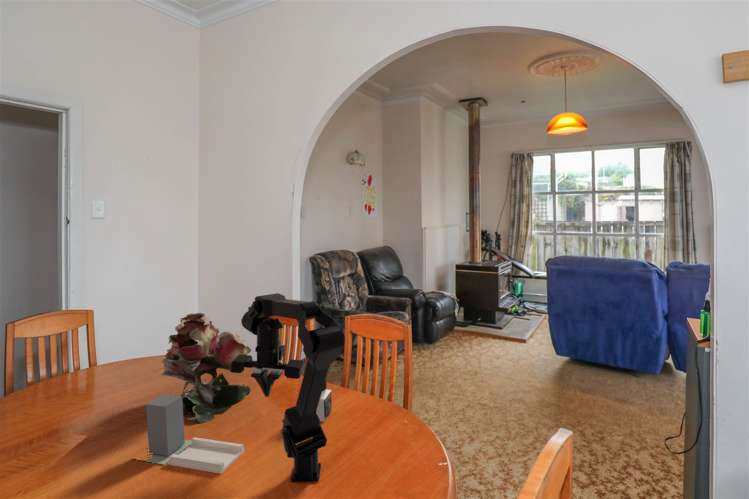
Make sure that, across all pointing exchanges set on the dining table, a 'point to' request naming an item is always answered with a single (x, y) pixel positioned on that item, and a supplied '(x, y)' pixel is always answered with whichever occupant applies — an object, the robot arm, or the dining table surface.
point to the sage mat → (164, 458)
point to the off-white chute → (208, 455)
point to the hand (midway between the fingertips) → (267, 395)
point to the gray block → (165, 424)
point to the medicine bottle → (324, 404)
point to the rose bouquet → (204, 366)
